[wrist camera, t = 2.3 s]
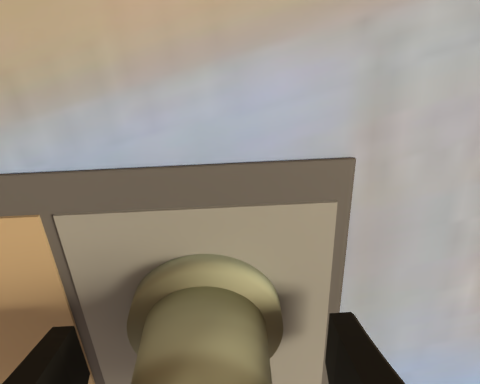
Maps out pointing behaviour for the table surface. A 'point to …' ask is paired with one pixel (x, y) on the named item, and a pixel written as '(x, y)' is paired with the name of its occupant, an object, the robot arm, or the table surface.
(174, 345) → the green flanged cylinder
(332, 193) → the game board
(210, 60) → the table surface
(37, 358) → the robot arm
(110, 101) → the table surface
